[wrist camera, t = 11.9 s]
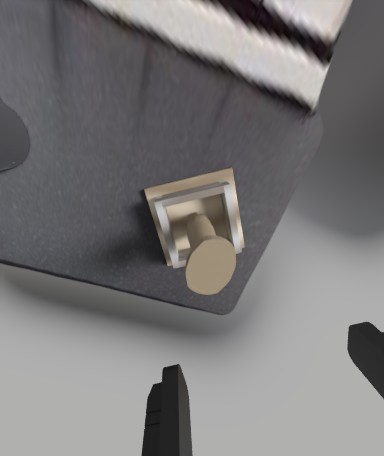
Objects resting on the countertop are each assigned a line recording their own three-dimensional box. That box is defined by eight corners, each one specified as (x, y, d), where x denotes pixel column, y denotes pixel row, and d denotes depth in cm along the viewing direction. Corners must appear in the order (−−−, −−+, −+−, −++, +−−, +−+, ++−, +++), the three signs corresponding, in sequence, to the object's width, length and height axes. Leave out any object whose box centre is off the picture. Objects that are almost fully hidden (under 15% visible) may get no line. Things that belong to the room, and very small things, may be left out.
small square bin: (145, 188, 35) (140, 194, 30) (230, 167, 34) (239, 170, 30) (168, 263, 40) (167, 278, 35) (242, 245, 39) (252, 258, 35)
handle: (217, 206, 35) (244, 246, 21) (204, 241, 37) (222, 298, 23) (188, 198, 35) (197, 234, 21) (177, 234, 37) (179, 289, 23)
